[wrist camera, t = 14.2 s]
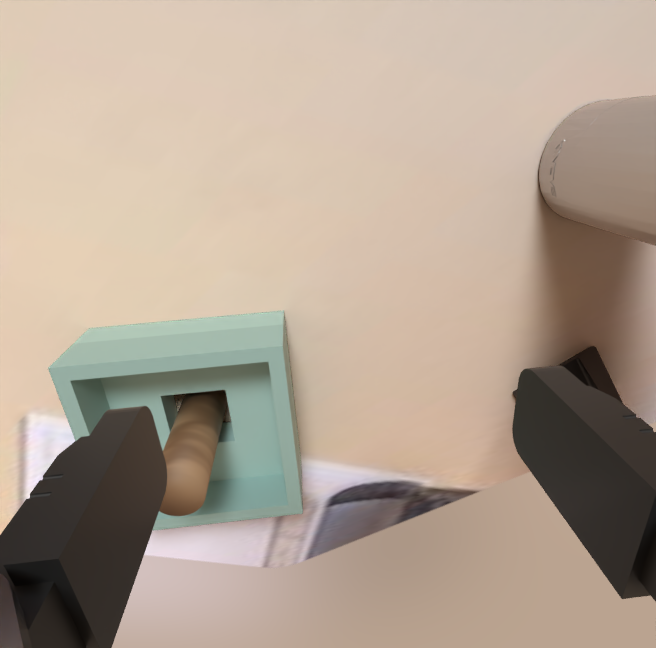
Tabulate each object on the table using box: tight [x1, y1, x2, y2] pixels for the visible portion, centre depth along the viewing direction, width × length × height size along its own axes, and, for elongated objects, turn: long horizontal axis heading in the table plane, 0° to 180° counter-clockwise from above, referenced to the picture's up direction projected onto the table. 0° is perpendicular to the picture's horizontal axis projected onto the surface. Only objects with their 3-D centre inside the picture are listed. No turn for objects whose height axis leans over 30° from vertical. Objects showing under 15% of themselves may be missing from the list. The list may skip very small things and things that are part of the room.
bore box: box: [48, 311, 303, 530], centre depth 38 cm, size 17×17×7 cm
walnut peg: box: [159, 390, 227, 516], centre depth 36 cm, size 4×4×12 cm
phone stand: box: [513, 347, 623, 404], centre depth 39 cm, size 9×6×12 cm, turn 124°
